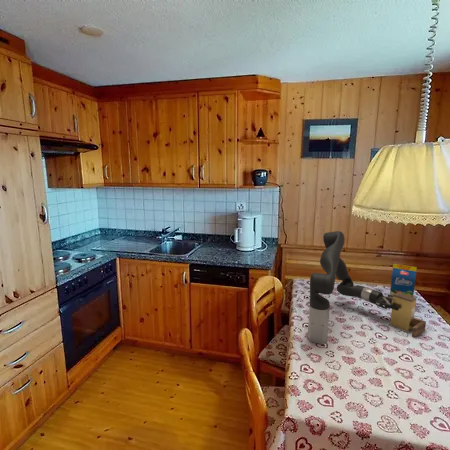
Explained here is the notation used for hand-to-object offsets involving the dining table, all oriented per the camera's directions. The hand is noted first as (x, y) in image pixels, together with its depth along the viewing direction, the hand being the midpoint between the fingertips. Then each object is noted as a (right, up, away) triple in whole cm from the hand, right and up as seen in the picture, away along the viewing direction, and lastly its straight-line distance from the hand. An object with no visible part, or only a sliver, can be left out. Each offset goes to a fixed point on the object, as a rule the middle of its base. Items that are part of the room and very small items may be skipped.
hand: (402, 306), depth 157 cm
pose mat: (0, -11, +2) cm, 11 cm away
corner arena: (+1, -11, +1) cm, 11 cm away
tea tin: (0, -11, +2) cm, 11 cm away
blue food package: (+15, -6, +28) cm, 32 cm away
